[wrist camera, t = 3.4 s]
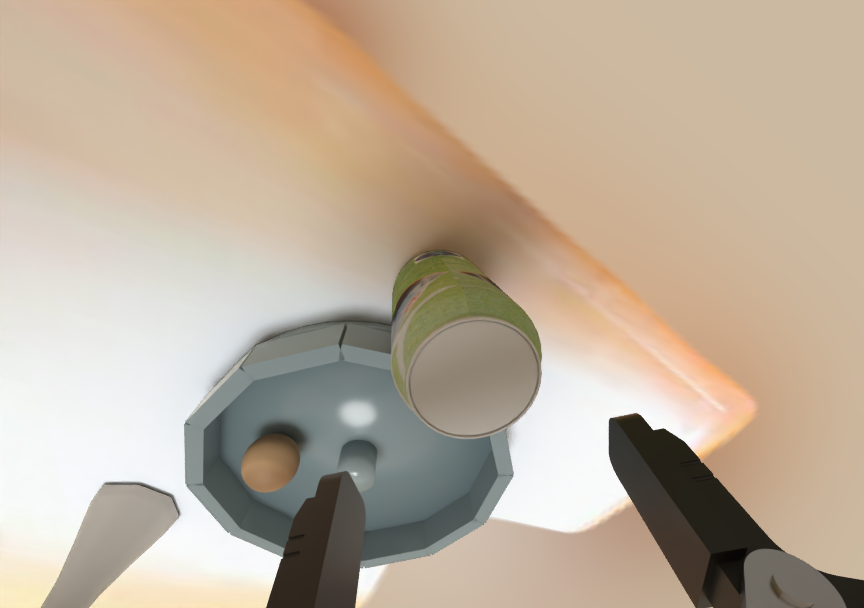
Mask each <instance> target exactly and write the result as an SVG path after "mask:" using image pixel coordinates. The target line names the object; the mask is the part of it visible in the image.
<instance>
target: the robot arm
mask: <svg viewBox="0 0 864 608" xmlns="http://www.w3.org/2000/svg"><path fill="white" fill-rule="evenodd" d="M609 457H610V461H611V464H612V466H613V469H614V471H615V473H616V475H617V477H618V478H619V480H620V482H621V483H622V485H623V487H624V488H625V490H626V492H627V493H628V495H629V497H630V498H631V500H632V502H633V503H634V505H635V507H636V508H637V510H638V512H639V513H640V515H641V517H642V518H643V520H644V522H645V523H646V525H647V527H648V529H649V530H650V532H651V534H652V535H653V537H654V539H655V540H656V542H657V544H658V545H659V547H660V549H661V550H662V552H663V554H664V555H665V557H666V559H667V560H668V562H669V564H670V565H671V567H672V569H673V570H674V572H675V574H676V575H677V577H678V579H679V581H680V582H681V584H682V586H683V587H684V589H685V591H686V592H687V594H688V595H689V597H690V599H691V601H692V602H693V604H694V606H695V607H696V608H708V607H713V608H864V580H859V579H853V578H847V577H841V576H836V575H831V574H828V573H824V572H822V571H819V570H816V569H815V568H813V567H812V566H810V565H809V564H807V563H806V562H804V561H802V560H800V559H799V558H797V557H795V556H793V555H790V554H788V553H786V552H785V551H783V550H782V549H781V548H780V547H778V546H777V545H776V544H775V543H774V542H773V541H772V540H771V539H770V538H769V537H768V536H767V535H766V533H765V532H764V531H763V530H762V529H761V528H760V527H759V526H758V524H757V523H756V522H755V521H754V520H753V519H752V518H751V517H750V515H749V514H748V513H747V512H746V511H745V510H744V509H743V507H742V506H741V505H740V504H739V503H738V502H737V501H736V500H735V498H734V497H733V496H732V495H731V494H730V493H729V492H728V491H727V489H726V488H725V487H724V486H723V485H722V484H721V483H720V481H719V480H718V479H717V478H715V477H714V476H713V473H712V472H711V471H710V470H709V469H708V468H707V467H706V466H705V465H704V463H701V461H700V459H699V458H698V456H697V455H696V454H695V453H694V452H693V451H692V450H691V449H690V447H689V446H688V445H687V444H686V443H685V442H684V441H683V440H681V439H679V438H678V437H676V436H675V435H673V434H672V433H670V432H669V431H667V430H666V429H664V428H663V429H658V430H652V428H651V427H650V426H649V425H648V423H647V422H646V421H645V420H644V418H643V417H642V416H641V415H639V414H637V413H634V414H629V415H624V416H619V417H614V418H610V420H609ZM365 523H366V511H365V505H364V501H363V499H362V497H361V495H360V493H359V491H358V489H357V487H356V485H355V483H354V481H353V479H352V477H351V475H350V474H349V472H348V471H343V472H338V473H333V474H328V475H324V476H322V477H321V479H320V481H319V484H318V487H317V491H316V495H315V497H312V498H307V499H306V500H305V502H304V503H303V505H302V506H301V508H300V509H299V511H298V512H297V514H296V516H295V517H294V520H293V523H292V527H291V530H290V533H289V536H288V541H287V543H286V546H285V549H284V552H283V559H281V562H280V565H279V568H278V571H277V575H276V578H275V581H274V584H273V588H272V591H271V594H270V597H269V600H268V604H267V607H266V608H355V603H356V595H357V587H358V579H359V571H360V563H361V555H362V547H363V539H364V531H365Z"/></svg>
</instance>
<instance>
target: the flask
mask: <svg viewBox="0 0 864 608" xmlns="http://www.w3.org/2000/svg"><path fill="white" fill-rule="evenodd" d="M178 518H179V515H178V512H177V510H176V508H175V505H174V503H173V500H172V498H171V497H169V496H167V495H164V494H161V493H159V492H156V491H153V490H151V489H148V488H146V487H143V486H140V485H103V486H102V487H101V488H100V490H99V491H98V493H97V494H96V496H95V497H94V498H93V500H92V501H91V503H90V506H89V508H88V510H87V512H86V515H85V517H84V520H83V522H82V524H81V527H80V529H79V532H78V534H77V537H76V539H75V541H74V544H73V546H72V548H71V550H70V553H69V555H68V557H67V559H66V562H65V564H64V566H63V568H62V570H61V573H60V575H59V577H58V579H57V581H56V583H55V585H54V587H53V588H52V590H51V591H50V593H49V595H48V596H47V598H46V600H45V601H44V603H43V605H42V606H41V608H89V607H90V606H91V605H92V603H93V602H94V601H95V600H96V599H97V598H98V596H99V595H100V594H101V593H102V592H103V591H104V590H105V589H106V588H107V587H108V586H110V585H111V584H112V583H113V582H114V581H115V580H116V579H117V578H118V577H119V576H120V575H121V574H122V573H123V572H124V571H125V570H126V569H127V568H128V567H129V566H130V565H131V564H132V563H133V562H134V561H135V560H137V559H138V558H139V557H140V556H141V555H142V554H143V553H144V552H145V551H146V550H147V549H148V548H150V547H151V546H152V545H153V544H154V543H155V542H156V541H157V540H158V539H159V538H160V537H161V536H162V535H163V534H164V533H165V532H166V531H167V530H168V529H169V528H170V527H171V526H172V525H173V523H174V522H175V521H176V520H177V519H178Z"/></svg>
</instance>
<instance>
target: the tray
mask: <svg viewBox="0 0 864 608" xmlns="http://www.w3.org/2000/svg"><path fill="white" fill-rule="evenodd" d="M391 331H392V326H391V325H385V324H379V323H374V322H358V321H342V322H326V323H321V324H315V325H309V326H304V327H301V328H298V329H294V330H291V331H288V332H285V333H282V334H280V335H278V336H276V337H274V338H271V339H269V340H267V341H265V342H263V343H260V344H257V346H254V347H253V348H252V349H251V350H250V351H249V352H248V353H247V354H246V355H245V356H244V357H242V358H241V359H240V360H239V361H238V362H237V363H236V364H235V365H234V366H233V367H232V368H231V370H230V371H229V372H228V373H227V375H226V376H225V377H224V378H223V379H222V380H221V381H220V382H219V383H218V384H217V385H216V386H215V387H214V388H213V389H212V390H211V391H210V392H209V393H208V394H207V395H206V396H205V397H204V399H203V400H202V401H201V402H200V404H199V405H198V406H197V408H196V409H195V410H194V411H193V413H192V414H191V415H190V417H189V418H188V419H187V420H186V423H185V424H184V435H185V483H186V484H187V487H188V488H189V490H190V491H191V492H192V493H193V494H194V495H195V496H196V497H197V499H198V500H199V501H200V502H201V503H202V504H203V505H204V506H205V508H206V509H207V510H208V511H209V512H210V513H211V514H212V516H213V517H214V518H215V519H216V520H217V521H218V522H219V523H220V525H221V526H222V527H223V528H224V529H225V530H226V531H227V532H228V533H229V532H231V533H230V534H231V535H233V536H235V537H237V538H240V539H242V540H244V541H247V542H249V543H251V544H254V545H256V546H258V547H261V548H263V549H265V550H267V551H270V552H272V553H274V554H277V555H279V556H281V557H283V552H284V549H285V546H286V543H287V541H288V536H289V533H290V530H291V527H292V523H293V520H294V517H295V516H296V514H297V512H298V511H299V509H300V508H301V506H302V505H303V503H304V502H305V500H306V499H307V498H312V497H315V495H316V491H317V487H318V484H319V481H320V479H321V477H322V476H324V475H328V474H333V473H338V472H343V471H348V472H349V474H350V475H351V477H352V479H353V481H354V483H355V485H356V487H357V489H358V491H359V493H360V495H361V497H362V499H363V501H364V505H365V511H366V523H365V531H364V539H363V547H362V555H361V563H360V568H363V567H365V568H369V567H374V566H379V565H385V564H390V563H394V562H399V561H405V560H410V559H415V558H420V557H425V556H430V554H432V555H433V554H435V553H436V552H438V551H440V550H441V549H443V548H445V547H446V546H448V545H450V544H452V543H453V542H455V541H457V540H458V539H460V538H462V537H463V536H465V535H467V534H468V533H470V532H472V531H473V530H475V529H477V528H478V527H480V526H482V525H484V523H486V521H487V520H488V518H489V516H490V515H491V513H492V511H493V510H494V508H495V506H496V505H497V503H498V501H499V499H500V498H501V496H502V494H503V493H504V491H505V489H506V488H507V486H508V484H509V483H510V481H511V479H512V478H513V474H514V473H513V468H512V462H511V457H510V452H509V447H508V441H507V436H506V431H505V429H504V430H502V431H501V432H498V433H496V434H493V435H490V436H487V437H482V438H475V439H460V438H453V437H449V436H445V435H443V434H441V433H438V432H436V431H434V430H433V429H431V428H430V427H428V426H427V425H426V424H425V423H423V422H422V421H421V420H420V419H419V417H418V416H417V415H415V414H414V413H413V412H412V411H411V410H410V409H409V408H408V407H407V406H406V405H405V403H404V402H403V400H402V399H401V398H400V396H399V394H398V392H397V390H396V388H395V385H394V382H393V378H392V374H391ZM272 433H279V434H284V435H287V436H288V437H290V438H292V439H293V440H294V441H295V443H296V444H297V446H298V448H299V451H300V464H299V468H298V470H297V472H296V474H295V476H294V477H293V478H292V480H291V481H290V482H289V483H288V484H287V485H285V486H284V487H282V488H280V489H278V490H276V491H273V492H258V491H255V490H253V489H251V488H250V487H249V486H248V485H247V484H246V483H245V481H244V480H243V477H242V474H241V463H242V459H243V456H244V454H245V452H246V450H247V449H248V447H249V446H250V445H251V444H252V443H253V442H254V441H256V440H257V439H258V438H260V437H262V436H265V435H268V434H272Z"/></svg>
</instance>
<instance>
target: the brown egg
mask: <svg viewBox="0 0 864 608" xmlns="http://www.w3.org/2000/svg"><path fill="white" fill-rule="evenodd" d="M299 464H300V451H299V448H298V446H297V444H296V443H295V441H294V440H293V439H292V438H290V437H288V436H287V435H284V434H279V433H272V434H268V435H265V436H262V437H260V438H258V439H257V440H256V441H254V442H253V443H252V444H251V445H250V446H249V447H248V449H247V450H246V452H245V454H244V456H243V459H242V463H241V474H242V477H243V480H244V481H245V483H246V484H247V485H248V486H249V487H250V488H251V489H253V490H255V491H258V492H273V491H276V490H278V489H280V488H282V487H284V486H285V485H287V484H288V483H289V482H290V481H291V480H292V478H293V477H294V476H295V474H296V472H297V470H298V468H299Z"/></svg>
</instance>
